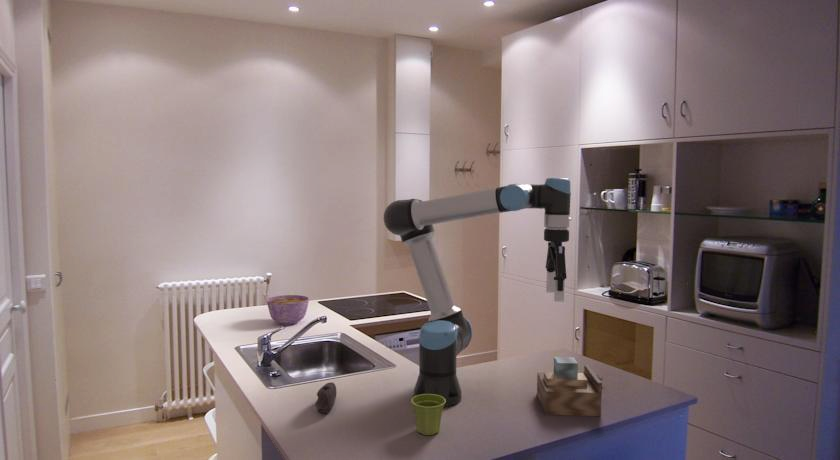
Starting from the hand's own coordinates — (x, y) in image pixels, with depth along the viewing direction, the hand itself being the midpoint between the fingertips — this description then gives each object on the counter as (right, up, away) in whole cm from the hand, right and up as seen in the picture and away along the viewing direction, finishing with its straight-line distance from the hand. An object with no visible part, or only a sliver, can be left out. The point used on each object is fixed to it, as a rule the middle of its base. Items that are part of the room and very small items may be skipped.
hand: (554, 296), depth 169 cm
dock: (+4, -33, -1) cm, 33 cm away
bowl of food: (-105, -24, +93) cm, 143 cm away
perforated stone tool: (-70, -33, -4) cm, 77 cm away
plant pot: (-40, -34, -20) cm, 56 cm away
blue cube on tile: (+3, -26, -2) cm, 26 cm away
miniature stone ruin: (+14, -32, +14) cm, 38 cm away
